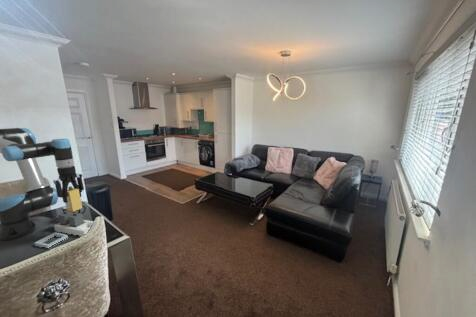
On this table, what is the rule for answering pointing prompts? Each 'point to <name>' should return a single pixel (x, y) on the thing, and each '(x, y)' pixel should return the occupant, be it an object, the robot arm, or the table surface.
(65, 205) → the mug
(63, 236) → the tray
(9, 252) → the table surface
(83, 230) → the strip
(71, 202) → the plug
